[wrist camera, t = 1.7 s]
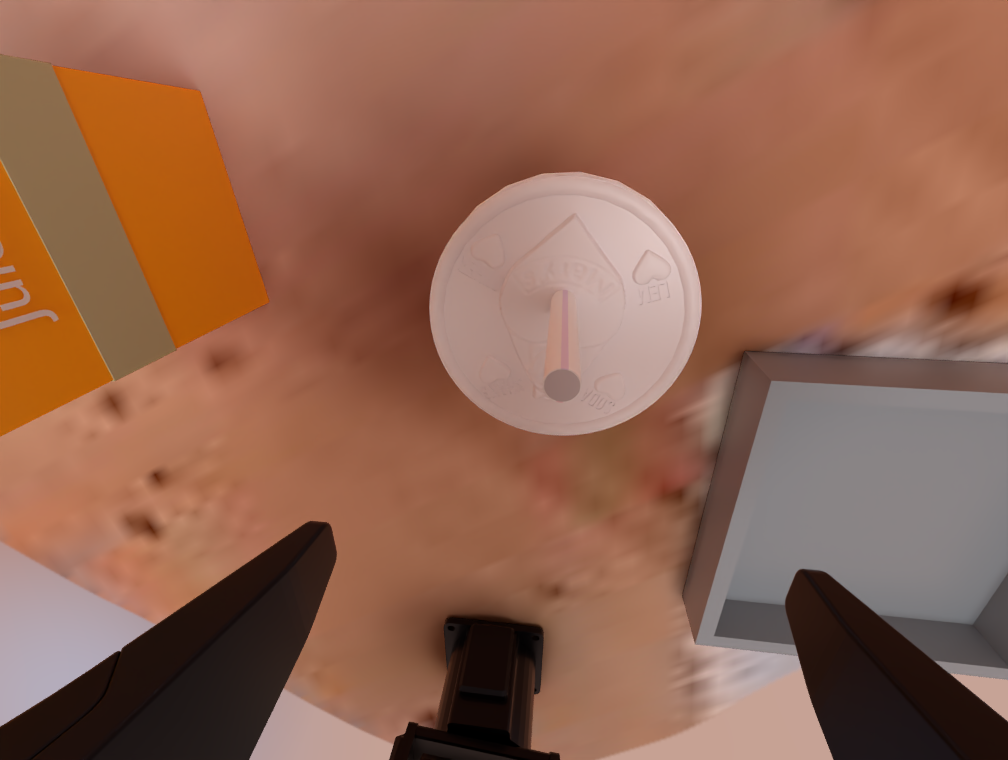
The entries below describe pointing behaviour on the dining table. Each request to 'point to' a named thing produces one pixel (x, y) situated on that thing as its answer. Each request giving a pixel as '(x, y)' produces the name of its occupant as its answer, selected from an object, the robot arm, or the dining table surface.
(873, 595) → the gray square tray
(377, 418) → the dining table surface
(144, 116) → the orange juice
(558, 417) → the smoothie
